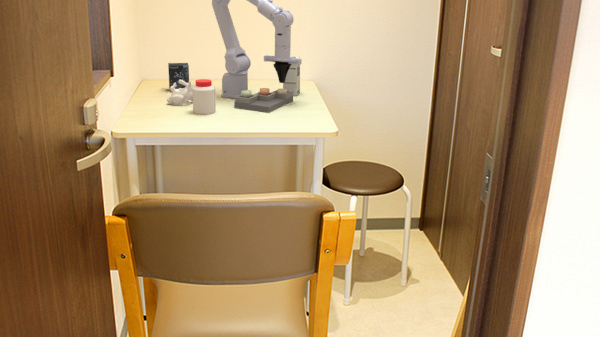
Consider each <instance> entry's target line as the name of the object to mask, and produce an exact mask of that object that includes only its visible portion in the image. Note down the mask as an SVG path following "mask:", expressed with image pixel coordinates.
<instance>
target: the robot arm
mask: <svg viewBox="0 0 600 337" xmlns="http://www.w3.org/2000/svg"><path fill="white" fill-rule="evenodd" d="M246 1H247V2H249V3H250V4H252V5H253V6H255V7H256V8H257V12H258V13H259V14H261V15H262V16H264V18H266V19H267V20H269V21H270V22H271V23H272V25H273V26H274V55H264V56H263V62H271V63H273V65H272V66H273V68H274V70H275V71H276V75H277V77H278V83H279V84H283V83H284V82H285V79H286V75H287V72H288V70H289V68H290V66H291V64H297V65H300V66H301V65H302V60H303V59H302V58H300V59H297V58H292V57H290V56H291V45H292V44H291V42H292V41H291V34H292V31H291V30H292V25H293V24H294V16H293V14H292V13H291V12H290V11H289V10H284V8H283V7H282V6H278V5H276V3H275V2H274V0H246ZM230 2H231V0H211V6H212V9H213V12H214V15H215V19H216V22H217V25H218V28H219V31H220V32H219V33H220V34H221V37H222V41H223V44H224V47H225V50H226V51H225V53H224V60H225V61H224V62H225V64H224V66H225V70H226V72H225V73H224V74H223V75H222V79H221V88H222V90H221V93H222V95H220V96H221V97H222V98H228V99H229V98H231V99H235V97H236V96H238V95H241V91H243V90H248V87H249V85H248V83H249V82H248V81H249V79H248V77H249V76H248V72H249V69H250V68H251V63H252V62H251V59H250V57H249V56H248V55H247V53H246V50H245V49H243V47H242V46H241V44H240V41H239V38H238V34H237V32H236V28H235V25H234V22H233V18H232V16H231V12H230V9H229V4H230ZM285 61H286V62H285ZM251 95H253V94H252V93H251Z"/></svg>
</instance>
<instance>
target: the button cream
mask: <svg viewBox="0 0 600 337" xmlns="http://www.w3.org/2000/svg"><path fill="white" fill-rule="evenodd" d="M276 90H277V93H287V89H283V88H278V89H276Z"/></svg>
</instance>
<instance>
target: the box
mask: <svg viewBox="0 0 600 337" xmlns="http://www.w3.org/2000/svg"><path fill="white" fill-rule="evenodd" d="M167 64H168V65H167V66H168V67H167V68H168V86H169V87H168V88H169V89H170V87H171V86H173V85H174V83H176V85H177V86H176V87H174V88H175V89H179V88H185V87H186V86H185V85H183V84H180V83H179V82H178V81H179V80H183V81H185V82H186V83H188V82H190V75H189V74H190V68H189V67H190V66H189V62H173V63H172V62H168V63H167Z"/></svg>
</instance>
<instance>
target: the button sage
mask: <svg viewBox="0 0 600 337" xmlns="http://www.w3.org/2000/svg"><path fill="white" fill-rule="evenodd" d="M251 94H252V90H243V91H241V97H244V98H250V97H251Z"/></svg>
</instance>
